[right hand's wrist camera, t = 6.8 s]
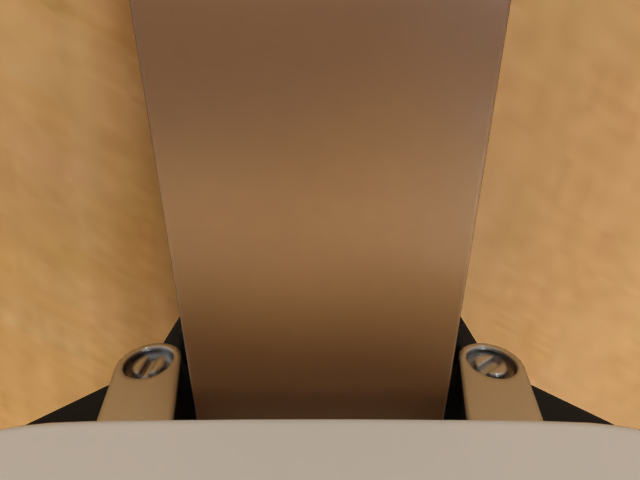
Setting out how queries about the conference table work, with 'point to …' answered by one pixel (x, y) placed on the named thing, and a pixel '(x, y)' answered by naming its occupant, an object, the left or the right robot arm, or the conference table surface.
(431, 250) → the beam
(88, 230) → the conference table surface
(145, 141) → the conference table surface
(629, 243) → the conference table surface
